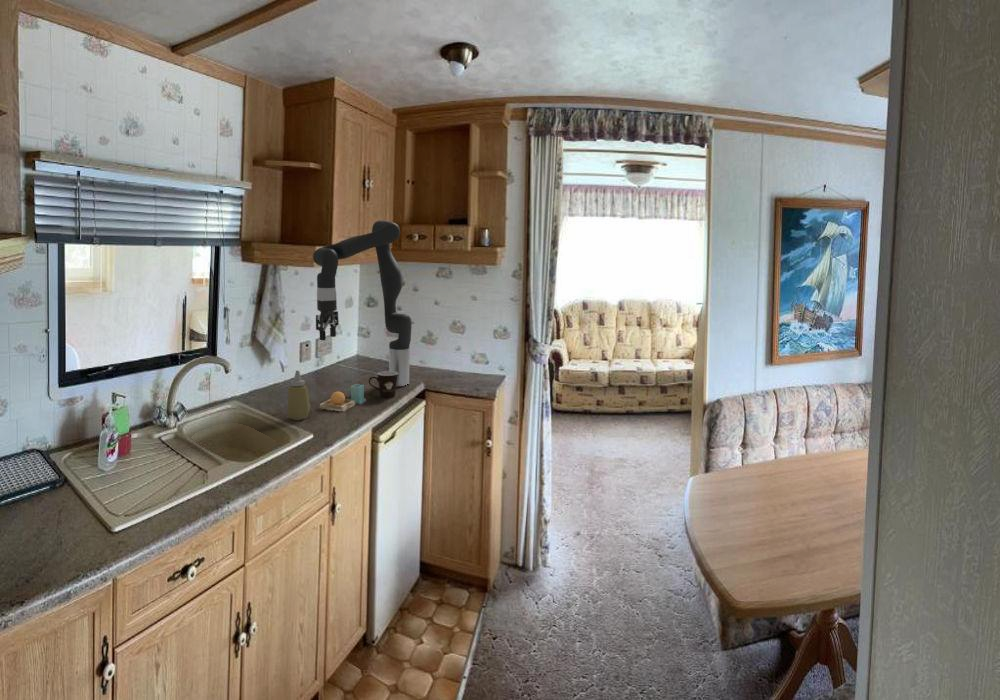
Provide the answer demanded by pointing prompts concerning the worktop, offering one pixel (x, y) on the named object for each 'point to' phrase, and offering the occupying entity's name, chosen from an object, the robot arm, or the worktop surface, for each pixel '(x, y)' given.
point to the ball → (337, 398)
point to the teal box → (357, 393)
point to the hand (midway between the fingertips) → (328, 338)
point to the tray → (342, 407)
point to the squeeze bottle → (298, 399)
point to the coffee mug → (386, 383)
